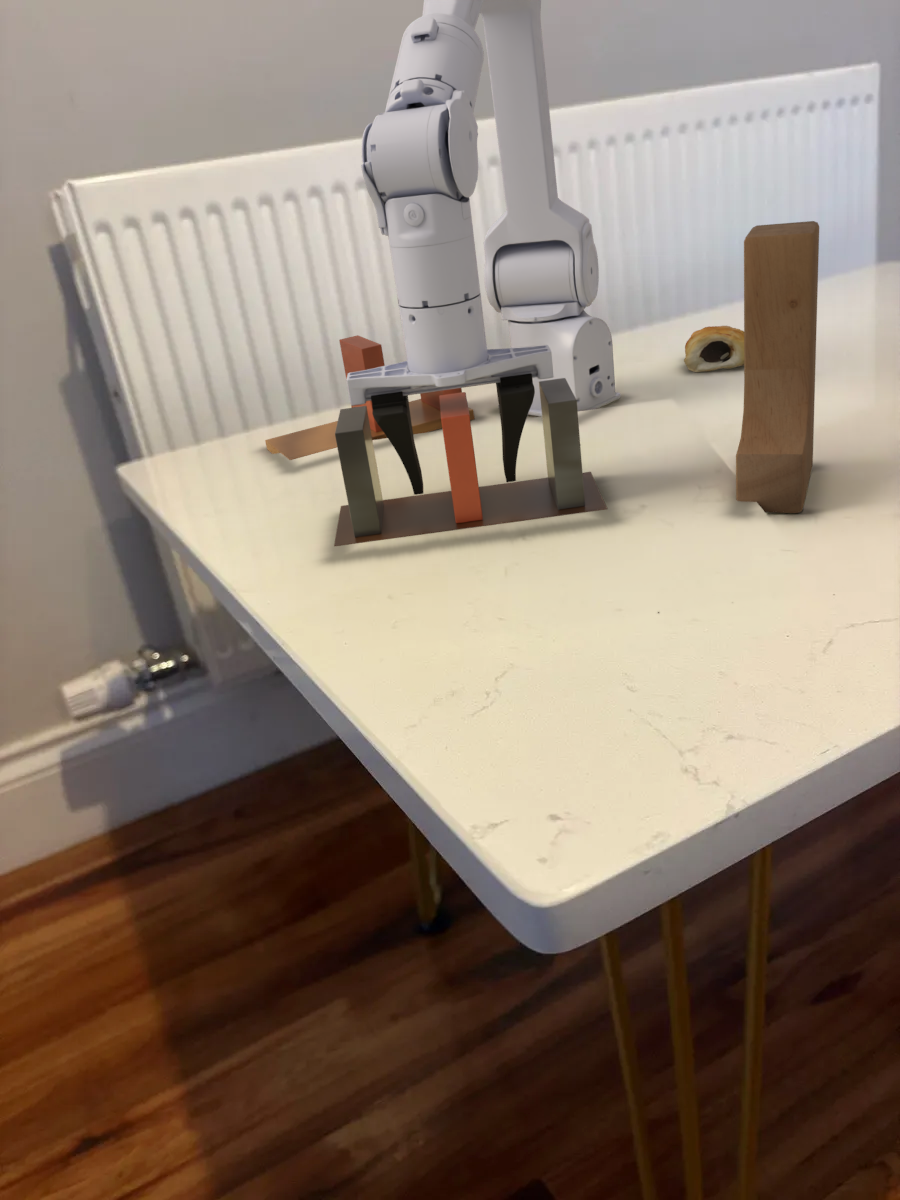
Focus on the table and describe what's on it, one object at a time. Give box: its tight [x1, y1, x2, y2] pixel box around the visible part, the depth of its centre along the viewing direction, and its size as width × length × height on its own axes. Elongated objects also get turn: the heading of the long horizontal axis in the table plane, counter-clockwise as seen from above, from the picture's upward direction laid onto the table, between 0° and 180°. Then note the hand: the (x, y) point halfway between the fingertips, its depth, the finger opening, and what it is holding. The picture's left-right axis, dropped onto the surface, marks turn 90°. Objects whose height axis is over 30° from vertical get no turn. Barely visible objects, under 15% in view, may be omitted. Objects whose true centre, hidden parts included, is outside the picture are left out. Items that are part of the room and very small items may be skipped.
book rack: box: [264, 334, 475, 461], centre depth 99 cm, size 19×8×9 cm, turn 116°
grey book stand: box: [333, 378, 608, 547], centre depth 76 cm, size 20×8×9 cm, turn 92°
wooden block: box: [735, 220, 820, 514], centre depth 71 cm, size 9×4×18 cm, turn 159°
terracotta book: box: [439, 391, 483, 523], centre depth 76 cm, size 2×6×8 cm, turn 2°
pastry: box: [683, 325, 744, 373], centre depth 107 cm, size 9×7×4 cm
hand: (464, 483), depth 77 cm, fingers open, 6 cm apart
